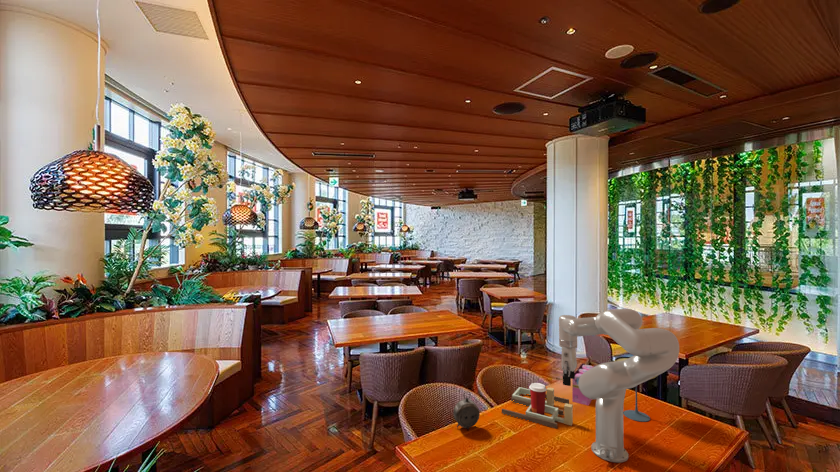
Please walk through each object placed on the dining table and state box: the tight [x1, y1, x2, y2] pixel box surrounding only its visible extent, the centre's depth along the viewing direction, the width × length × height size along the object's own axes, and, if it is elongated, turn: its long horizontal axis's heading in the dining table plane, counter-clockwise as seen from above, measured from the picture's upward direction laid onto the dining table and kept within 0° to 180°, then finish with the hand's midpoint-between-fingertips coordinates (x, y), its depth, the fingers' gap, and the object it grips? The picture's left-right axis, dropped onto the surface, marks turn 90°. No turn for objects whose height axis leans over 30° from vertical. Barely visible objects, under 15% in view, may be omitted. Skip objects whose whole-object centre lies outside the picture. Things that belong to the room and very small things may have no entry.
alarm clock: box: [453, 391, 480, 430], centre depth 154 cm, size 11×5×16 cm, turn 102°
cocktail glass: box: [613, 356, 658, 423], centre depth 166 cm, size 18×18×25 cm
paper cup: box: [528, 382, 547, 416], centre depth 166 cm, size 8×8×14 cm
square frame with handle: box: [511, 386, 555, 407], centre depth 181 cm, size 12×19×8 cm, turn 57°
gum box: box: [571, 363, 596, 406], centre depth 188 cm, size 24×8×14 cm, turn 143°
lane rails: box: [501, 395, 570, 429], centre depth 173 cm, size 29×25×2 cm
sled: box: [525, 403, 574, 426], centre depth 163 cm, size 12×19×8 cm, turn 57°
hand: (568, 381), depth 158 cm, fingers open, 9 cm apart
